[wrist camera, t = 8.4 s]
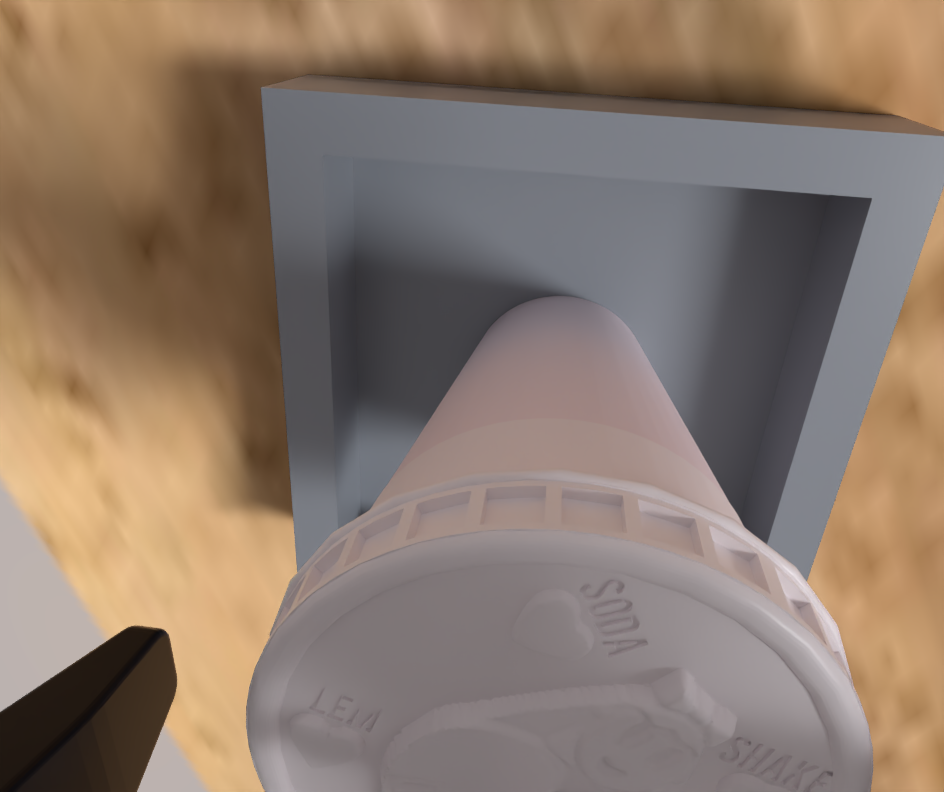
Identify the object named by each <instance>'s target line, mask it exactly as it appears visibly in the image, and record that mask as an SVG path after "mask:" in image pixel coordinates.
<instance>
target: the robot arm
mask: <svg viewBox="0 0 944 792" xmlns="http://www.w3.org/2000/svg"><path fill="white" fill-rule="evenodd" d="M176 687H177V674H176V669H175V664H174V658H173V653H172V648H171V643H170V638H169V635H168V634H167V632H166V631H165V630H163V629H160V628H152V627H145V626H131V627H128V628H126V629H124V630H123V631H121V632H120V633H118V634H117V635H115V636H114V637H112V638H111V639H109V640H108V641H106V642H105V643H103V644H102V645H100V646H99V647H97V648H96V649H94V650H93V651H91V652H90V653H88V654H87V655H85V656H84V657H82V658H81V659H79V660H78V661H76V662H75V663H73V664H72V665H70V666H69V667H67V668H66V669H64V670H63V671H61V672H60V673H58V674H57V675H55V676H54V677H52V678H51V679H49V680H48V681H46V682H45V683H43V684H42V685H40V686H39V687H37V688H36V689H34V690H33V691H31V692H30V693H28V694H27V695H25V696H24V697H22V698H21V699H19V700H18V701H16V702H15V703H13V704H12V705H10V706H9V707H7V708H6V709H4V710H3V711H1V712H0V792H137V790H138V788H139V785H140V783H141V780H142V778H143V775H144V773H145V770H146V767H147V765H148V762H149V760H150V757H151V755H152V752H153V750H154V747H155V745H156V742H157V740H158V737H159V735H160V732H161V730H162V727H163V725H164V722H165V720H166V717H167V715H168V712H169V710H170V707H171V704H172V702H173V699H174V696H175V693H176Z"/></svg>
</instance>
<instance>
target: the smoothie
mask: <svg viewBox="0 0 944 792" xmlns="http://www.w3.org/2000/svg"><path fill="white" fill-rule="evenodd" d="M246 729H247V736H248V743H249V749H250V752H251V756H252V760H253V764H254V767H255V769H256V772H257V774H258V777H259V779H260V782H261V784H262V786H263V789H264V790H265V792H870V791H871V783H872V775H873V747H872V742H871V737H870V731H869V726H868V722H867V720H866V717H865V714H864V711H863V708H862V705H861V702H860V700H859V698H858V695H857V693H856V691H855V689H854V685H853V681H852V678H851V674H850V670H849V667H848V663H847V659H846V655H845V652H844V648H843V644H842V641H841V637H840V633H839V629H838V626H837V624H836V622H835V621H834V620H833V618H832V617H831V615H830V614H829V613H828V611H827V610H826V608H825V607H824V606H823V604H822V603H821V601H820V600H819V599H818V597H817V596H816V594H815V593H814V592H813V590H812V589H811V587H810V586H809V585H808V583H807V582H806V580H805V579H804V578H803V576H802V575H801V573H800V572H799V570H798V569H797V568H796V567H795V566H794V565H793V564H792V563H790V562H789V561H788V560H786V559H785V558H784V557H782V556H781V555H780V554H778V553H777V552H776V551H775V550H773V549H772V548H771V547H769V546H768V545H767V544H765V543H764V542H763V541H762V540H760V539H759V538H758V537H756V536H755V535H754V534H752V533H751V532H750V531H748V530H747V529H746V528H745V527H744V526H743V524H742V522H741V520H740V518H739V516H738V514H737V513H736V511H735V510H734V508H733V507H732V506H731V504H730V503H729V501H728V499H727V497H726V496H725V494H724V492H723V490H722V489H721V487H720V485H719V483H718V482H717V480H716V478H715V476H714V475H713V473H712V471H711V469H710V468H709V466H708V464H707V462H706V460H705V459H704V457H703V455H702V453H701V452H700V450H699V448H698V446H697V445H696V443H695V441H694V439H693V438H692V436H691V434H690V432H689V431H688V429H687V427H686V425H685V424H684V422H683V420H682V418H681V417H680V415H679V413H678V411H677V410H676V408H675V406H674V404H673V403H672V401H671V399H670V397H669V395H668V394H667V392H666V390H665V388H664V387H663V385H662V383H661V381H660V380H659V378H658V376H657V374H656V373H655V371H654V369H653V367H652V366H651V364H650V362H649V360H648V359H647V357H646V355H645V353H644V352H643V350H642V348H641V346H640V345H639V343H638V341H637V339H636V338H635V336H634V334H633V333H632V331H631V330H630V329H629V328H628V326H627V325H626V324H625V323H624V322H623V321H622V320H621V319H620V318H619V317H618V316H616V315H615V314H614V313H612V312H611V311H609V310H608V309H606V308H604V307H602V306H600V305H598V304H596V303H594V302H591V301H588V300H585V299H581V298H576V297H570V296H549V297H542V298H537V299H533V300H530V301H527V302H524V303H522V304H520V305H518V306H516V307H514V308H512V309H510V310H509V311H507V312H506V313H505V314H503V315H502V316H501V317H500V318H498V319H497V320H496V321H495V322H494V323H493V324H492V326H491V327H490V328H489V329H488V331H487V332H486V334H485V335H484V337H483V338H482V340H481V341H480V343H479V344H478V346H477V347H476V349H475V350H474V352H473V353H472V355H471V357H470V358H469V360H468V361H467V363H466V364H465V366H464V367H463V369H462V370H461V372H460V374H459V375H458V377H457V378H456V380H455V381H454V383H453V384H452V386H451V387H450V389H449V390H448V392H447V394H446V395H445V397H444V398H443V400H442V401H441V403H440V404H439V406H438V407H437V409H436V410H435V412H434V414H433V415H432V417H431V418H430V420H429V421H428V423H427V424H426V426H425V427H424V429H423V431H422V432H421V434H420V435H419V437H418V438H417V440H416V441H415V443H414V444H413V446H412V447H411V449H410V451H409V452H408V454H407V455H406V457H405V458H404V460H403V461H402V463H401V464H400V466H399V467H398V469H397V471H396V472H395V474H394V475H393V477H392V478H391V480H390V481H389V483H388V484H387V486H386V487H385V488H384V489H383V491H382V492H381V494H380V495H379V497H378V498H377V500H376V501H375V503H374V504H373V506H372V507H371V509H370V510H369V511H367V512H366V513H364V514H362V515H361V516H359V517H357V518H356V519H354V520H353V521H351V522H349V523H348V524H346V525H344V526H343V527H341V528H339V529H338V530H336V531H334V532H333V533H332V534H331V535H330V536H329V537H328V538H327V539H326V540H325V542H324V543H323V544H322V545H321V546H320V547H319V548H318V550H317V551H316V552H315V553H314V554H313V555H312V556H311V558H310V559H309V560H308V561H307V562H306V563H305V564H304V566H303V567H302V568H301V569H300V570H299V571H298V572H297V574H296V575H295V576H294V577H293V578H292V579H291V580H290V583H289V585H288V588H287V591H286V593H285V596H284V598H283V601H282V603H281V606H280V609H279V611H278V614H277V616H276V619H275V622H274V624H273V627H272V629H271V632H270V638H269V640H268V642H267V644H266V646H265V648H264V650H263V652H262V654H261V656H260V658H259V661H258V663H257V665H256V667H255V670H254V673H253V677H252V680H251V683H250V687H249V693H248V700H247V706H246Z"/></svg>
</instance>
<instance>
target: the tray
mask: <svg viewBox="0 0 944 792" xmlns="http://www.w3.org/2000/svg"><path fill="white" fill-rule="evenodd" d="M261 96H262V109H263V122H264V135H265V149H266V162H267V175H268V189H269V202H270V215H271V228H272V242H273V255H274V268H275V282H276V295H277V308H278V321H279V335H280V348H281V361H282V375H283V388H284V401H285V415H286V428H287V441H288V454H289V468H290V481H291V494H292V508H293V521H294V534H295V547H296V561H297V572H298V571H299V570H300V569H301V568H302V567H303V566H304V564H305V563H306V562H307V561H308V560H309V559H310V558H311V556H312V555H313V554H314V553H315V552H316V551H317V550H318V548H319V547H320V546H321V545H322V544H323V543H324V542H325V540H326V539H327V538H328V537H329V536H330V535H331V534H332V533H333V532H334V531H336V530H338V529H339V528H341V527H343V526H344V525H346V524H348V523H349V522H351V521H353V520H354V519H356V518H357V517H359V516H361V515H362V514H364V513H366V512H367V511H369V510H370V509H371V507H372V506H373V504H374V503H375V501H376V500H377V498H378V497H379V495H380V494H381V492H382V491H383V489H384V488H385V487H386V486H387V484H388V483H389V481H390V480H391V478H392V477H393V475H394V474H395V472H396V471H397V469H398V467H399V466H400V464H401V463H402V461H403V460H404V458H405V457H406V455H407V454H408V452H409V451H410V449H411V447H412V446H413V444H414V443H415V441H416V440H417V438H418V437H419V435H420V434H421V432H422V431H423V429H424V427H425V426H426V424H427V423H428V421H429V420H430V418H431V417H432V415H433V414H434V412H435V410H436V409H437V407H438V406H439V404H440V403H441V401H442V400H443V398H444V397H445V395H446V394H447V392H448V390H449V389H450V387H451V386H452V384H453V383H454V381H455V380H456V378H457V377H458V375H459V374H460V372H461V370H462V369H463V367H464V366H465V364H466V363H467V361H468V360H469V358H470V357H471V355H472V353H473V352H474V350H475V349H476V347H477V346H478V344H479V343H480V341H481V340H482V338H483V337H484V335H485V334H486V332H487V331H488V329H489V328H490V327H491V326H492V324H493V323H494V322H495V321H496V320H497V319H498V318H500V317H501V316H502V315H503V314H505V313H506V312H507V311H509V310H510V309H512V308H514V307H516V306H518V305H520V304H522V303H524V302H527V301H530V300H533V299H537V298H542V297H549V296H570V297H576V298H581V299H585V300H588V301H591V302H594V303H596V304H598V305H600V306H602V307H604V308H606V309H608V310H609V311H611V312H612V313H614V314H615V315H616V316H618V317H619V318H620V319H621V320H622V321H623V322H624V323H625V324H626V325H627V326H628V328H629V329H630V330H631V331H632V333H633V334H634V336H635V338H636V339H637V341H638V343H639V345H640V346H641V348H642V350H643V352H644V353H645V355H646V357H647V359H648V360H649V362H650V364H651V366H652V367H653V369H654V371H655V373H656V374H657V376H658V378H659V380H660V381H661V383H662V385H663V387H664V388H665V390H666V392H667V394H668V395H669V397H670V399H671V401H672V403H673V404H674V406H675V408H676V410H677V411H678V413H679V415H680V417H681V418H682V420H683V422H684V424H685V425H686V427H687V429H688V431H689V432H690V434H691V436H692V438H693V439H694V441H695V443H696V445H697V446H698V448H699V450H700V452H701V453H702V455H703V457H704V459H705V460H706V462H707V464H708V466H709V468H710V469H711V471H712V473H713V475H714V476H715V478H716V480H717V482H718V483H719V485H720V487H721V489H722V490H723V492H724V494H725V496H726V497H727V499H728V501H729V503H730V504H731V506H732V507H733V508H734V510H735V511H736V513H737V514H738V516H739V518H740V520H741V522H742V524H743V526H744V527H745V528H746V529H747V530H748V531H750V532H751V533H752V534H754V535H755V536H756V537H758V538H759V539H760V540H762V541H763V542H764V543H765V544H767V545H768V546H769V547H771V548H772V549H773V550H775V551H776V552H777V553H778V554H780V555H781V556H782V557H784V558H785V559H786V560H788V561H789V562H790V563H792V564H793V565H794V566H795V567H796V568H797V569H798V570H799V572H800V573H801V575H802V576H803V578H804V579H805V580H806V582H807V579H808V576H809V573H810V570H811V567H812V565H813V562H814V559H815V556H816V553H817V550H818V547H819V544H820V542H821V539H822V536H823V533H824V530H825V527H826V524H827V521H828V518H829V516H830V513H831V510H832V507H833V504H834V501H835V498H836V495H837V492H838V490H839V487H840V484H841V481H842V478H843V475H844V472H845V469H846V467H847V464H848V461H849V458H850V455H851V452H852V449H853V446H854V443H855V441H856V438H857V435H858V432H859V429H860V426H861V423H862V420H863V418H864V415H865V412H866V409H867V406H868V403H869V400H870V397H871V394H872V392H873V389H874V386H875V383H876V380H877V377H878V374H879V371H880V368H881V366H882V363H883V360H884V357H885V354H886V351H887V348H888V345H889V343H890V340H891V337H892V334H893V331H894V328H895V325H896V322H897V319H898V317H899V314H900V311H901V308H902V305H903V302H904V299H905V296H906V293H907V291H908V288H909V285H910V282H911V279H912V276H913V273H914V270H915V268H916V265H917V262H918V259H919V256H920V253H921V250H922V247H923V244H924V242H925V239H926V236H927V233H928V230H929V227H930V224H931V221H932V218H933V216H934V213H935V210H936V207H937V204H938V201H939V198H940V195H941V193H942V190H943V187H944V132H943V131H940V130H938V129H935V128H932V127H929V126H926V125H923V124H921V123H918V122H915V121H912V120H909V119H906V118H903V117H901V116H896V115H881V114H867V113H853V112H839V111H824V110H810V109H796V108H781V107H767V106H753V105H738V104H724V103H710V102H696V101H681V100H667V99H653V98H638V97H624V96H610V95H595V94H581V93H567V92H552V91H538V90H524V89H510V88H495V87H481V86H467V85H452V84H438V83H424V82H409V81H395V80H381V79H366V78H352V77H338V76H324V75H305V76H301V77H297V78H294V79H290V80H286V81H283V82H279V83H275V84H271V85H268V86H264V87H261Z"/></svg>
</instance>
